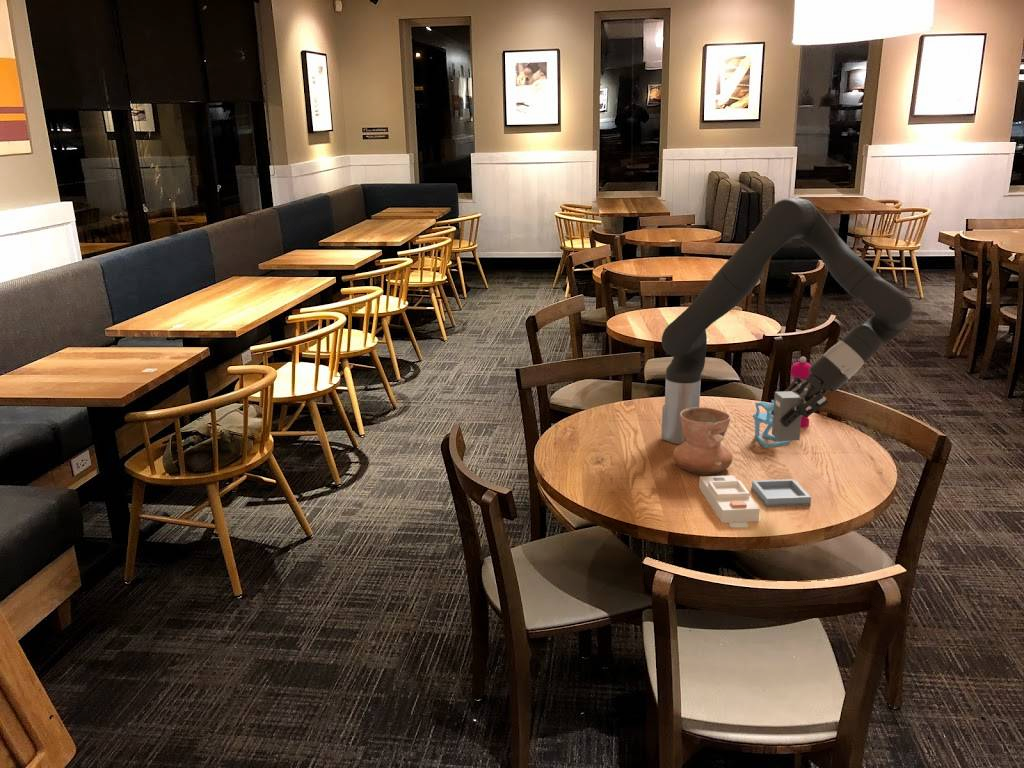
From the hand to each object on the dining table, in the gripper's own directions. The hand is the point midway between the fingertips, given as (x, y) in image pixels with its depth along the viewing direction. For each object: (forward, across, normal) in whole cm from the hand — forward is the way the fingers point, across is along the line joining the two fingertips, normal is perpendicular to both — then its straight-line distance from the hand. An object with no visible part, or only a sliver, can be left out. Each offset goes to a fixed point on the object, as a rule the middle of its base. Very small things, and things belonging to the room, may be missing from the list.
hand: (778, 420), depth 182 cm
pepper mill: (-4, -47, +31) cm, 56 cm away
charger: (+2, 0, +4) cm, 5 cm away
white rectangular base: (+21, +3, +5) cm, 22 cm away
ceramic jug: (+21, -19, +5) cm, 29 cm away
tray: (+12, 0, +14) cm, 19 cm away
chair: (+5, -35, +22) cm, 41 cm away
